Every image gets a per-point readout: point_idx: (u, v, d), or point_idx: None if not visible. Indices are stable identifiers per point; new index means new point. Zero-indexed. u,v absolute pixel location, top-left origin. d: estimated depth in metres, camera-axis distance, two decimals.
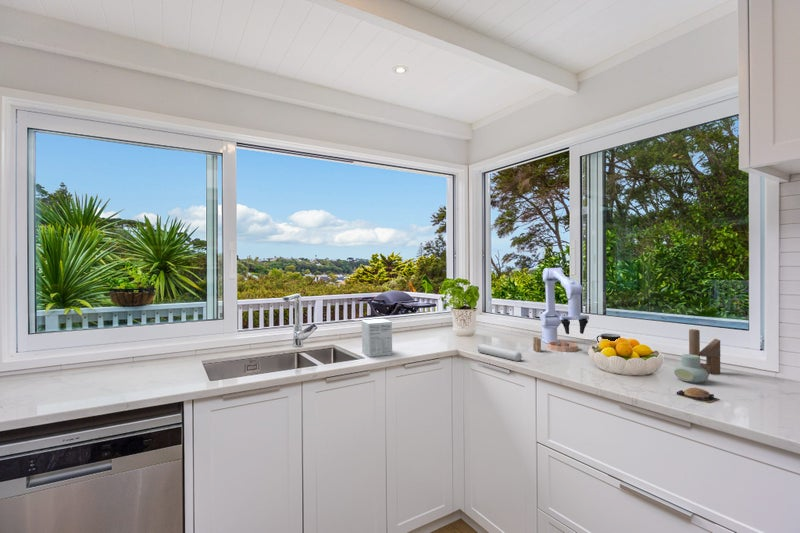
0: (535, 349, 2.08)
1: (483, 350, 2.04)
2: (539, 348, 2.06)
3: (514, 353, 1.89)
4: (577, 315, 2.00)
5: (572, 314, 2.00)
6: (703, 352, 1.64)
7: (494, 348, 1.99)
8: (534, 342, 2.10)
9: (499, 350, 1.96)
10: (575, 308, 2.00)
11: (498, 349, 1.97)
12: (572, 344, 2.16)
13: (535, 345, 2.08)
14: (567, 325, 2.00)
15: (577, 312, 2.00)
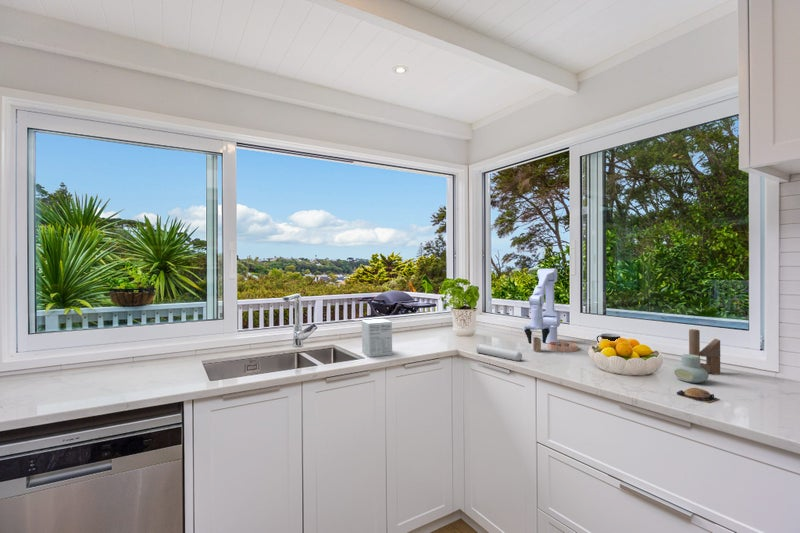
0: (535, 349, 2.08)
1: (482, 350, 2.03)
2: (539, 348, 2.06)
3: (515, 353, 1.89)
4: (539, 325, 2.06)
5: (535, 324, 2.06)
6: (703, 352, 1.64)
7: (494, 348, 1.99)
8: (534, 342, 2.10)
9: (499, 351, 1.96)
10: (537, 318, 2.06)
11: (498, 349, 1.97)
12: (572, 344, 2.16)
13: (535, 345, 2.08)
14: (529, 335, 2.06)
15: (539, 322, 2.06)
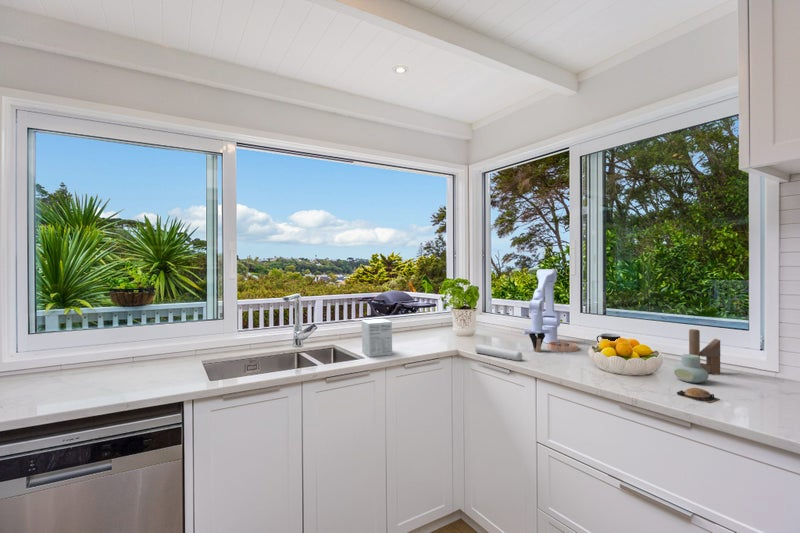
0: (535, 349, 2.08)
1: (481, 351, 2.03)
2: (539, 348, 2.06)
3: (515, 353, 1.89)
4: (539, 330, 2.06)
5: (535, 328, 2.06)
6: (703, 352, 1.64)
7: (493, 348, 1.98)
8: None
9: (499, 351, 1.96)
10: (537, 323, 2.06)
11: (498, 349, 1.97)
12: (572, 344, 2.16)
13: None
14: (534, 339, 2.07)
15: (539, 327, 2.06)
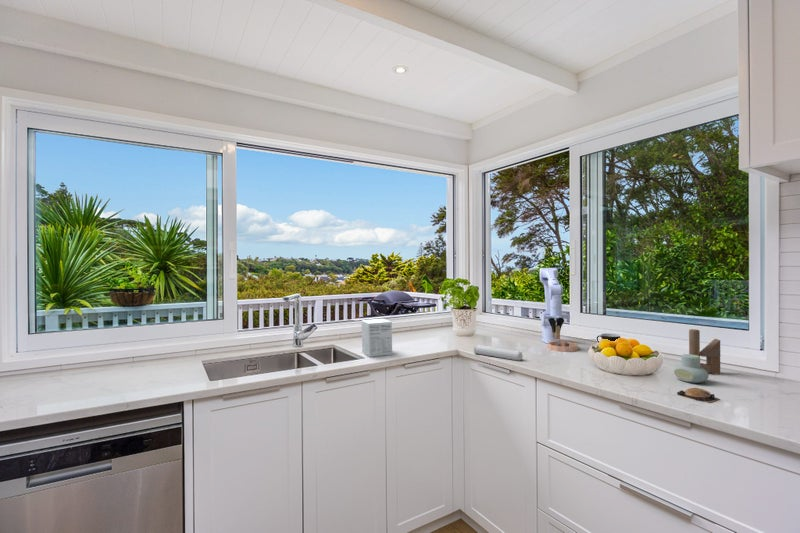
0: (554, 336, 2.12)
1: (480, 351, 2.02)
2: (558, 335, 2.10)
3: (516, 353, 1.90)
4: (558, 314, 2.10)
5: (554, 313, 2.10)
6: (703, 352, 1.64)
7: (493, 349, 1.98)
8: None
9: (499, 351, 1.95)
10: (556, 308, 2.10)
11: (497, 349, 1.96)
12: (572, 344, 2.16)
13: None
14: (553, 324, 2.10)
15: (558, 312, 2.10)
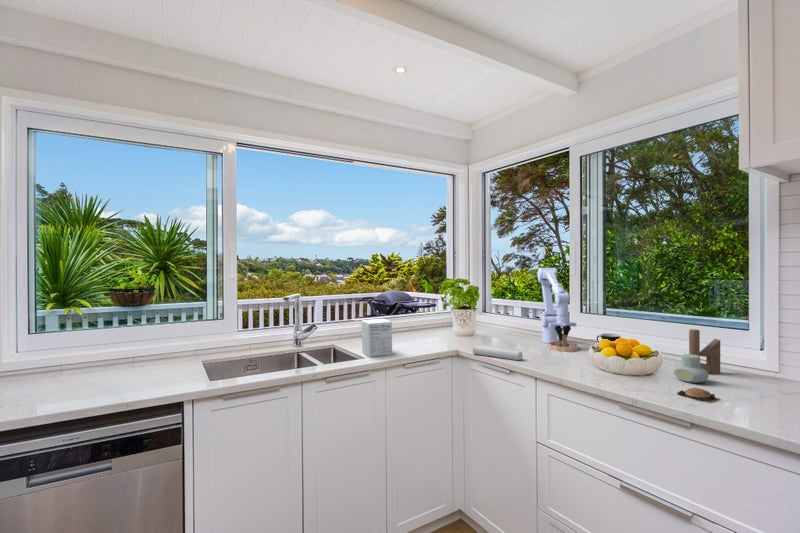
0: (561, 345, 2.13)
1: (479, 352, 2.01)
2: (565, 344, 2.11)
3: (516, 353, 1.90)
4: (565, 322, 2.11)
5: (561, 321, 2.11)
6: (703, 352, 1.64)
7: (492, 349, 1.97)
8: None
9: (498, 351, 1.95)
10: (563, 316, 2.11)
11: (497, 350, 1.96)
12: (572, 344, 2.16)
13: (561, 341, 2.13)
14: (560, 332, 2.12)
15: (565, 319, 2.11)
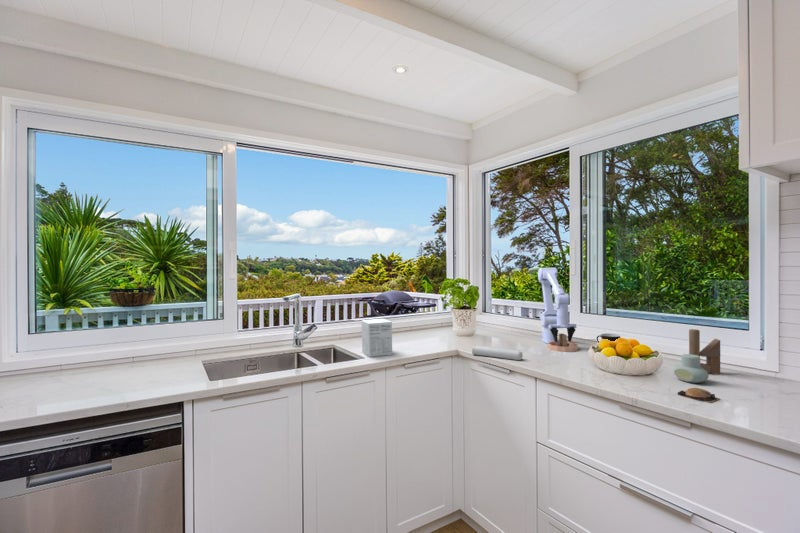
0: (561, 345, 2.13)
1: (479, 352, 2.00)
2: (565, 344, 2.11)
3: (516, 353, 1.90)
4: (565, 324, 2.11)
5: (561, 323, 2.11)
6: (703, 352, 1.64)
7: (492, 349, 1.97)
8: (560, 338, 2.14)
9: (498, 351, 1.95)
10: (563, 317, 2.11)
11: (497, 350, 1.95)
12: (572, 344, 2.16)
13: (561, 341, 2.13)
14: (555, 333, 2.11)
15: (565, 321, 2.11)
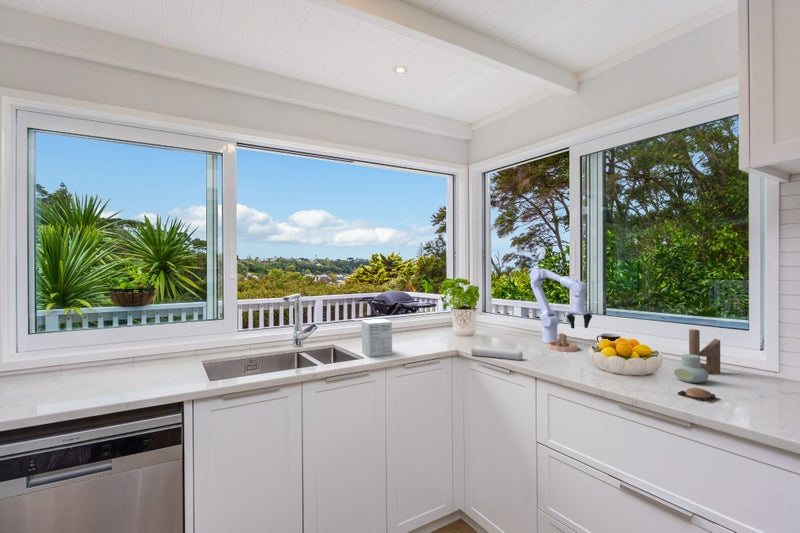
0: (561, 345, 2.13)
1: (478, 352, 1.99)
2: (565, 344, 2.11)
3: (517, 352, 1.90)
4: (582, 311, 2.14)
5: (577, 310, 2.15)
6: (703, 352, 1.64)
7: (492, 349, 1.96)
8: (560, 338, 2.14)
9: (498, 351, 1.94)
10: (580, 304, 2.14)
11: (497, 350, 1.95)
12: (572, 344, 2.16)
13: (561, 341, 2.13)
14: (572, 320, 2.15)
15: (582, 308, 2.14)
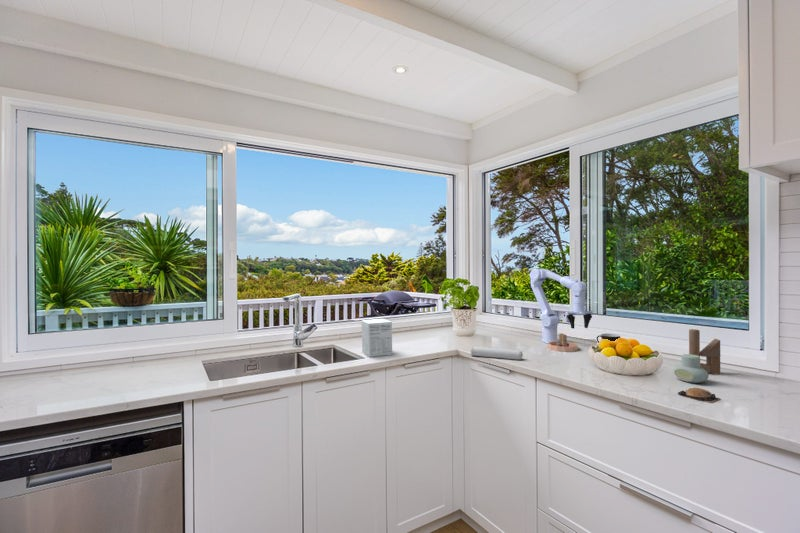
0: (561, 345, 2.13)
1: (478, 353, 1.98)
2: (565, 344, 2.11)
3: (517, 352, 1.90)
4: (582, 311, 2.14)
5: (577, 310, 2.15)
6: (703, 352, 1.64)
7: (492, 349, 1.96)
8: (560, 338, 2.14)
9: (498, 351, 1.94)
10: (580, 304, 2.14)
11: (497, 350, 1.95)
12: (572, 344, 2.16)
13: (561, 341, 2.13)
14: (572, 320, 2.15)
15: (582, 308, 2.14)
